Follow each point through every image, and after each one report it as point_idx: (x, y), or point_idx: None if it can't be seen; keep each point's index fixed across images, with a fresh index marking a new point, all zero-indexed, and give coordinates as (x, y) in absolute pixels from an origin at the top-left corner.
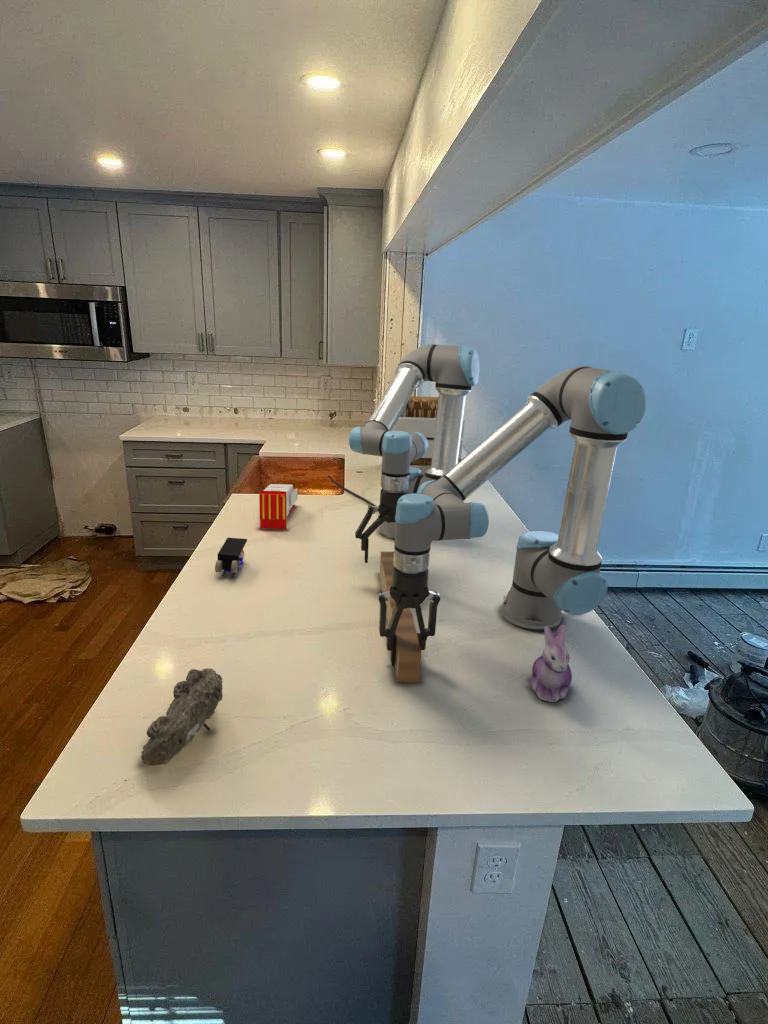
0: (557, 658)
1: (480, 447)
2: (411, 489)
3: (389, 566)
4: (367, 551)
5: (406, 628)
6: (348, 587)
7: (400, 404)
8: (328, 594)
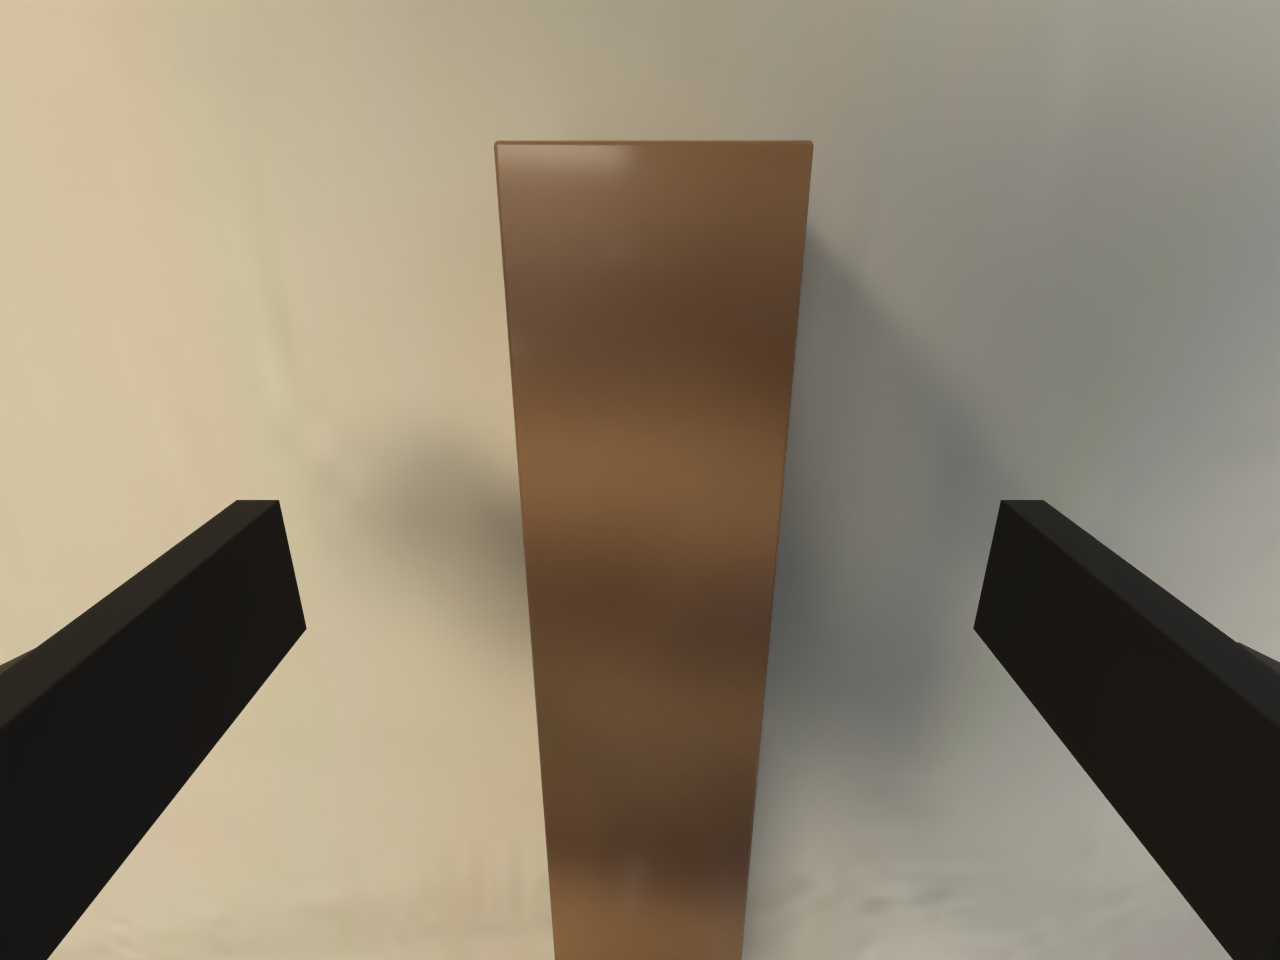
0: None
1: None
2: None
3: (617, 697)
4: (185, 767)
5: None
6: (251, 469)
7: None
8: (106, 588)
